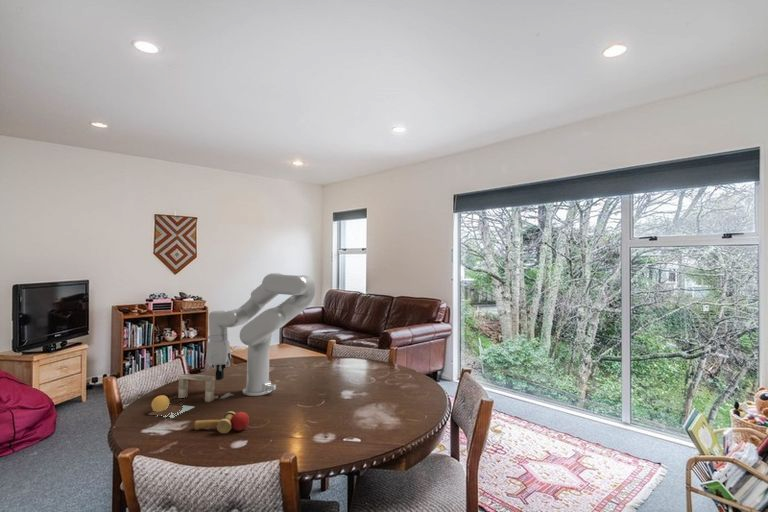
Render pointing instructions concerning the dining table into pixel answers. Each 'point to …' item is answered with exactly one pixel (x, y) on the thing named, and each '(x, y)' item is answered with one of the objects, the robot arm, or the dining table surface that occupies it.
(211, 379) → the bridge
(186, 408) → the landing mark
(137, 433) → the dining table surface
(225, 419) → the kendama
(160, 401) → the ball
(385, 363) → the dining table surface
